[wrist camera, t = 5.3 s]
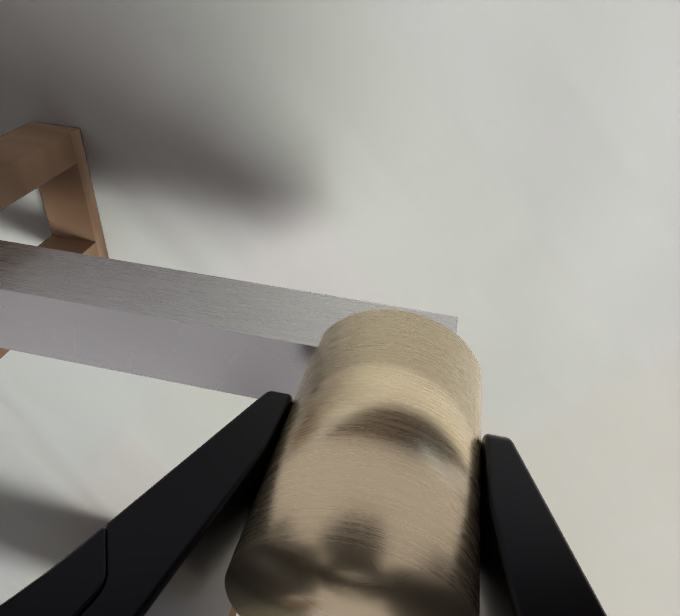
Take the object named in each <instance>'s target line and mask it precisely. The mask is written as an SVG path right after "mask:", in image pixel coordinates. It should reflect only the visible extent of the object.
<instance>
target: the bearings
mask: <svg viewBox="0 0 680 616" xmlns="http://www.w3.org/2000/svg"><path fill="white" fill-rule="evenodd" d="M38 187H39V190H40V193H41V197H42V200H43V204H44V207H45V211H46V214H47V218H48V221H49V225H50V228H51V232H52V236H51V237H49V238H48V239H47V240H45V241H44V242H43V243H41V244H40V245H39V246H38V247H44V248H49V249H55V250H61V251H67V252H73V253H79V254H85V255H91V256H97V257H103V258H108V254H107V249H106V245H105V240H104V236H103V231H102V227H101V222H100V218H99V213H98V209H97V205H96V200H95V196H94V191H93V187H92V182H91V178H90V173H89V169H88V164H87V160H86V155H85V151H84V147H83V142H82V138H81V133H80V129H79V128H73V127H66V126H58V125H51V124H43V123H36V122H30V123H28V124H26V125H24V126H21V127H19V128H17V129H15V130H13V131H11V132H8V133H6V134H4V135H2V136H0V210H2V209H3V208H5V207H7V206H8V205H10V204H11V203H13V202H15V201H16V200H18V199H20V198H21V197H23V196H25V195H26V194H28V193H29V192H31V191H33V190H34V189H36V188H38ZM9 350H10V349H5V348H0V359H1V358H2V357H3V356H4V355H5V354H6V353H7V352H8V351H9Z"/></svg>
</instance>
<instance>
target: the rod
mask: <svg viewBox="0 0 680 616" xmlns="http://www.w3.org/2000/svg"><path fill="white" fill-rule="evenodd" d="M456 332H457V317H454V316H448V315H442V314H436V313H430V312H424V311H418V310H412V309H406V308H400V307H394V306H388V305H382V304H376V303H370V302H364V301H359V300H353V299H347V298H341V297H335V296H329V295H323V294H317V293H311V292H305V291H299V290H293V289H287V288H281V287H275V286H269V285H263V284H257V283H252V282H246V281H240V280H234V279H228V278H222V277H216V276H210V275H204V274H198V273H192V272H186V271H180V270H174V269H168V268H162V267H156V266H150V265H145V264H139V263H133V262H127V261H121V260H115V259H109V258H103V257H97V256H91V255H85V254H79V253H73V252H67V251H61V250H55V249H49V248H44V247H38V246H32V245H26V244H20V243H14V242H8V241H2V240H0V348H5V349H10V350H15V351H20V352H25V353H30V354H35V355H40V356H45V357H50V358H55V359H60V360H65V361H70V362H75V363H80V364H85V365H90V366H96V367H101V368H106V369H111V370H116V371H121V372H126V373H131V374H136V375H141V376H146V377H151V378H156V379H161V380H166V381H171V382H176V383H181V384H186V385H191V386H196V387H201V388H207V389H212V390H217V391H222V392H227V393H232V394H237V395H242V396H247V397H252V398H257V399H259V398H260V397H261V396H262V395H264V394H265V393H266V392H268V391H276V392H281V393H286V394H289V395H291V396H292V399H293V403H292V406H291V408H290V411H289V413H288V416H287V419H286V421H285V424H284V426H283V429H282V431H281V434H280V436H279V439H278V441H277V444H276V446H275V449H274V452H273V454H272V457H271V459H270V462H269V464H268V467H267V469H266V472H265V474H264V477H263V480H262V482H261V485H260V487H259V490H258V492H257V495H256V497H255V500H254V502H253V505H252V508H251V510H250V513H249V515H248V518H247V520H246V523H245V525H244V528H243V530H242V533H241V535H240V538H239V541H238V543H237V546H236V548H235V551H234V553H233V556H232V558H231V561H230V563H229V566H228V569H227V571H226V575H225V590H226V594H227V597H228V599H229V601H230V603H231V605H232V606H233V608H234V609H235V611H236V612H237V613H238V614H239V616H480V509H481V387H482V378H481V372H480V368H479V365H478V362H477V360H476V358H475V356H474V354H473V353H472V351H471V350H470V348H469V347H468V346H467V345H466V343H465V342H464V341H463V340H462V339H461V338H460V337H459V336H458V335H456Z"/></svg>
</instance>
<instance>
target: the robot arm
mask: <svg viewBox="0 0 680 616" xmlns="http://www.w3.org/2000/svg"><path fill="white" fill-rule="evenodd" d="M292 403H293V399H292V396H291V395H289V394H286V393H281V392H276V391H268V392H266V393H265V394H264V395H262V396H261V397H260V398H259V399H258V400H256V401H255V402H254V403H253V404H252V405H250V406H249V407H248V408H247V409H246V410H244V411H243V412H242V413H241V414H239V415H238V416H237V417H236V418H235V419H233V420H232V421H231V422H230V423H229V424H227V425H226V426H225V427H224V428H223V429H221V430H220V431H219V432H218V433H216V434H215V435H214V436H213V437H212V438H210V439H209V440H208V441H207V442H206V443H204V444H203V445H202V446H201V447H200V448H198V449H197V450H196V451H195V452H193V453H192V454H191V455H190V456H189V457H187V458H186V459H185V460H184V461H183V462H181V463H180V464H179V465H178V466H177V467H175V468H174V469H173V470H172V471H170V472H169V473H168V474H167V475H166V476H164V477H163V478H162V479H161V480H160V481H158V482H157V483H156V484H155V485H154V486H152V487H151V488H150V489H149V490H147V491H146V492H145V493H144V494H143V495H141V496H140V497H139V498H138V499H137V500H135V501H134V502H133V503H132V504H131V505H129V506H128V507H127V508H126V509H125V510H123V511H122V512H121V513H120V514H118V515H117V516H116V517H115V518H114V519H112V520H111V521H110V522H109V523H108V524H107V529H106V528H101V529H100V530H99V531H98V532H96V533H95V534H94V535H93V536H92V537H90V538H89V539H88V540H87V541H85V542H84V543H83V544H82V545H81V546H79V547H78V548H77V549H75V550H74V551H73V552H72V553H70V554H69V555H68V556H67V557H65V558H64V559H63V560H62V561H60V562H59V563H58V564H56V565H55V566H54V567H53V568H51V569H50V570H49V571H47V572H46V573H45V574H43V575H42V576H41V577H39V578H38V579H36V580H35V581H34V582H32V583H31V584H29V585H28V586H27V587H25V588H24V589H22V590H21V591H20V592H18V593H17V594H16V595H14V596H13V597H11V598H10V599H9V600H7V601H6V602H4V603H3V604H1V605H0V616H228V615H229V612H230V610H231V607H232V605H231V603H230V601H229V599H228V597H227V594H226V590H225V575H226V571H227V569H228V566H229V563H230V561H231V558H232V556H233V553H234V551H235V548H236V546H237V543H238V541H239V538H240V535H241V533H242V530H243V528H244V525H245V523H246V520H247V518H248V515H249V513H250V510H251V508H252V505H253V502H254V500H255V497H256V495H257V492H258V490H259V487H260V485H261V482H262V480H263V477H264V474H265V472H266V469H267V467H268V464H269V462H270V459H271V457H272V454H273V452H274V449H275V446H276V444H277V441H278V439H279V436H280V434H281V431H282V429H283V426H284V424H285V421H286V419H287V416H288V413H289V411H290V408H291V406H292ZM480 616H607V615H606V613H605V611H604V610H603V608H602V606H601V604H600V602H599V600H598V599H597V597H596V595H595V593H594V591H593V589H592V587H591V586H590V584H589V582H588V580H587V578H586V576H585V575H584V573H583V571H582V569H581V567H580V565H579V563H578V562H577V560H576V558H575V556H574V554H573V552H572V551H571V549H570V547H569V545H568V543H567V541H566V540H565V538H564V536H563V534H562V532H561V530H560V528H559V527H558V525H557V523H556V521H555V519H554V517H553V516H552V514H551V512H550V510H549V508H548V506H547V504H546V503H545V501H544V499H543V497H542V495H541V493H540V492H539V490H538V488H537V486H536V484H535V482H534V481H533V479H532V477H531V475H530V473H529V471H528V469H527V468H526V466H525V464H524V462H523V460H522V458H521V457H520V455H519V453H518V451H517V449H516V447H515V445H514V444H513V442H512V441H511V440H510V439H509V438H506V437H501V436H496V435H491V434H486V435H485V436H484V437H483V439H482V442H481V509H480Z"/></svg>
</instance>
